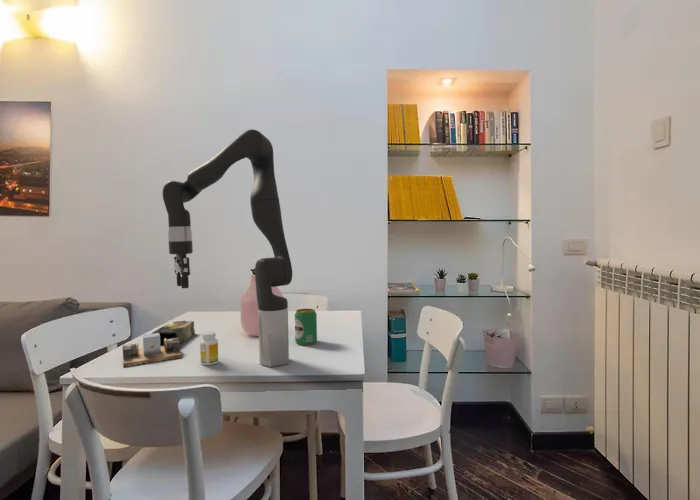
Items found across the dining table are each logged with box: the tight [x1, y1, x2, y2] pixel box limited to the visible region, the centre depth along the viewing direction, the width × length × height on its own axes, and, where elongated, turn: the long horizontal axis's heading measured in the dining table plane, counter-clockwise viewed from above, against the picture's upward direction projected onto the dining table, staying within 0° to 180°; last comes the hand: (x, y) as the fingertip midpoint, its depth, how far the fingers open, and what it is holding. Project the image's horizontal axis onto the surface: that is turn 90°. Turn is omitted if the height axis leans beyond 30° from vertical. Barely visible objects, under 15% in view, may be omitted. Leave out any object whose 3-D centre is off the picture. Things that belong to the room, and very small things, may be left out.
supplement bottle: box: [199, 331, 219, 366], centre depth 130 cm, size 5×5×10 cm
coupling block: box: [142, 332, 162, 356], centre depth 137 cm, size 5×5×6 cm
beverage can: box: [294, 308, 318, 346], centre depth 150 cm, size 8×8×12 cm
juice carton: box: [152, 320, 196, 344], centre depth 157 cm, size 20×10×6 cm, turn 2°
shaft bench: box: [122, 337, 183, 367], centre depth 137 cm, size 17×14×5 cm
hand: (182, 287), depth 141 cm, fingers open, 8 cm apart
